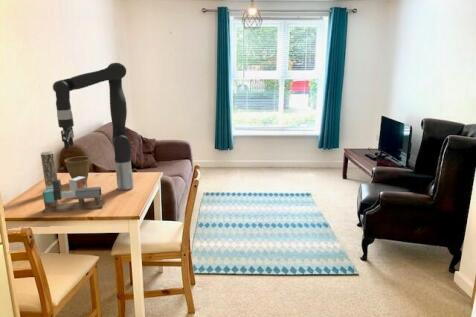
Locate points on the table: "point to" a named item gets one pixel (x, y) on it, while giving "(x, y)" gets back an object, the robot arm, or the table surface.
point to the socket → (48, 196)
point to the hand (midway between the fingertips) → (69, 147)
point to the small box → (77, 183)
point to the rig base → (73, 205)
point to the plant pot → (78, 166)
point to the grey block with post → (58, 191)
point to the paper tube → (49, 168)
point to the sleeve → (88, 193)
